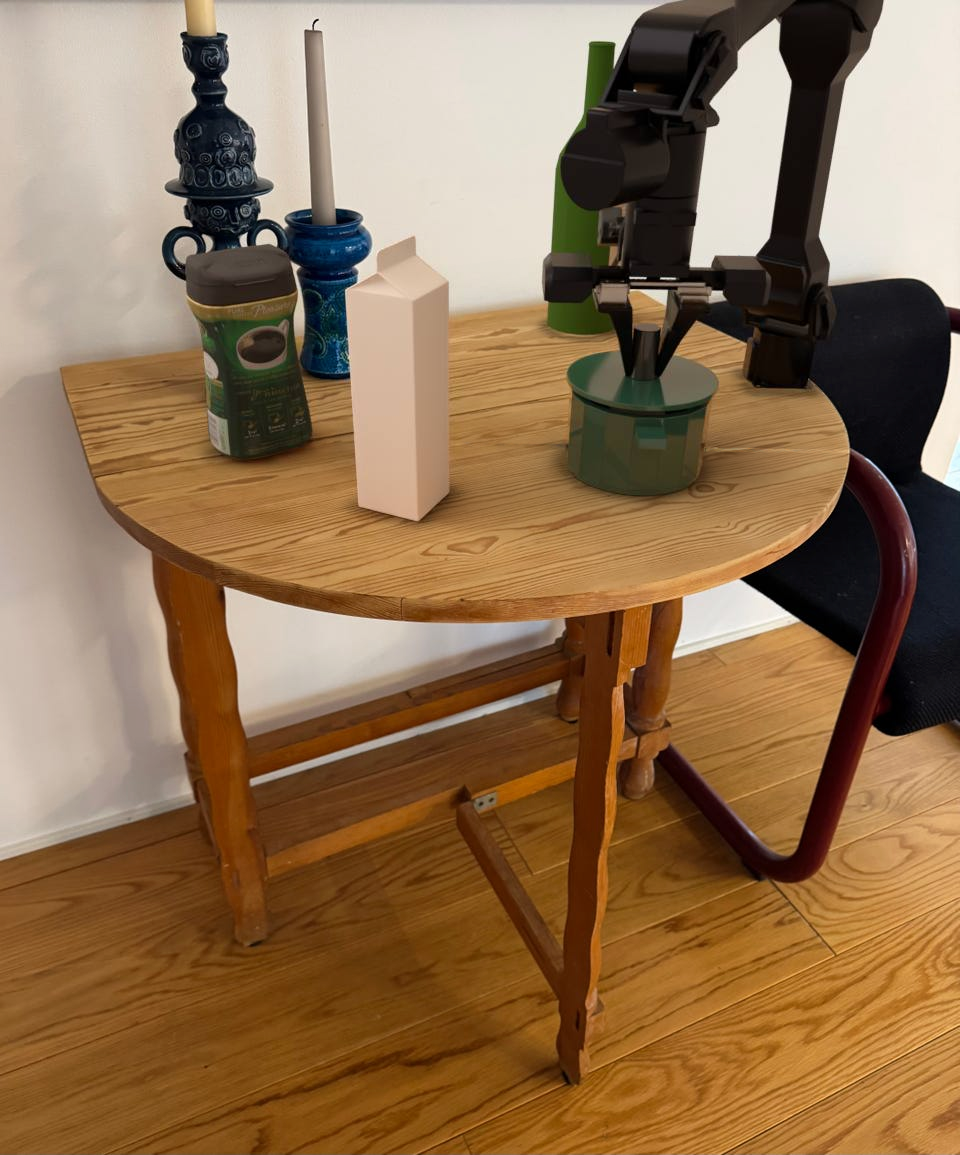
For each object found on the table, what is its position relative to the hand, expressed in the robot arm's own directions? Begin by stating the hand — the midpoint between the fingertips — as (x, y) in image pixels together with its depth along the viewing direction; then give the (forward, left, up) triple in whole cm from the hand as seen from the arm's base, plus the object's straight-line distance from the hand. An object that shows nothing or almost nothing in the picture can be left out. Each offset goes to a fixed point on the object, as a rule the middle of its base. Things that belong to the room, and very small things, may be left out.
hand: (642, 375), depth 85 cm
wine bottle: (+2, -40, -9) cm, 41 cm away
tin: (0, 0, -9) cm, 9 cm away
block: (0, 0, -8) cm, 8 cm away
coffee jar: (+36, -3, -9) cm, 37 cm away
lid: (0, 0, -1) cm, 1 cm away
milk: (+21, +8, -9) cm, 24 cm away
